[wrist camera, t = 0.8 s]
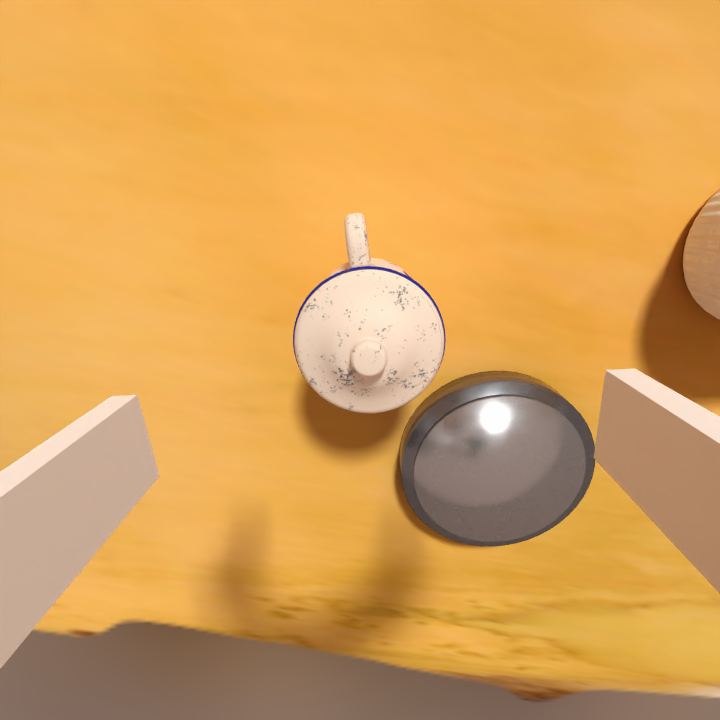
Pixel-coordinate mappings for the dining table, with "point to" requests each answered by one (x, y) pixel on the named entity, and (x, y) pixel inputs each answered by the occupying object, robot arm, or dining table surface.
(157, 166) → the dining table surface
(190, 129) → the dining table surface
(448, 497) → the dark gray round plate
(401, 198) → the dining table surface
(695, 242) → the ramekin
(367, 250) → the teacup with lid
